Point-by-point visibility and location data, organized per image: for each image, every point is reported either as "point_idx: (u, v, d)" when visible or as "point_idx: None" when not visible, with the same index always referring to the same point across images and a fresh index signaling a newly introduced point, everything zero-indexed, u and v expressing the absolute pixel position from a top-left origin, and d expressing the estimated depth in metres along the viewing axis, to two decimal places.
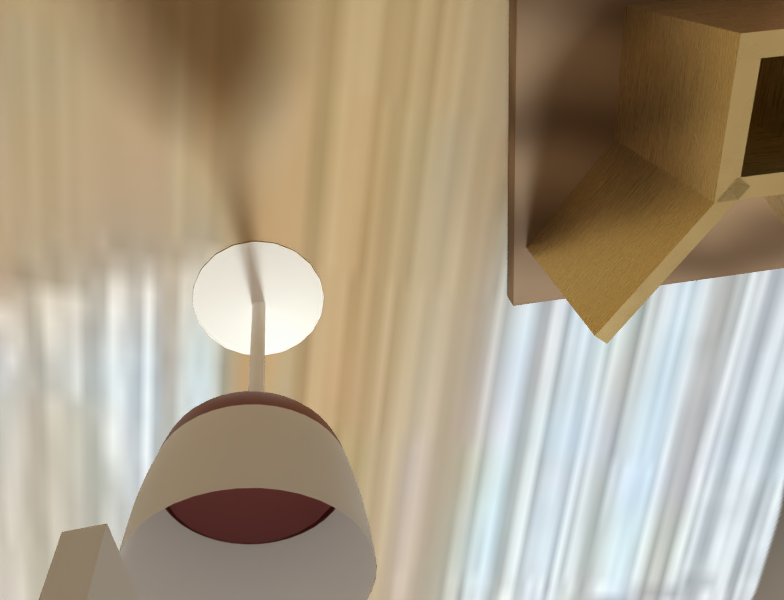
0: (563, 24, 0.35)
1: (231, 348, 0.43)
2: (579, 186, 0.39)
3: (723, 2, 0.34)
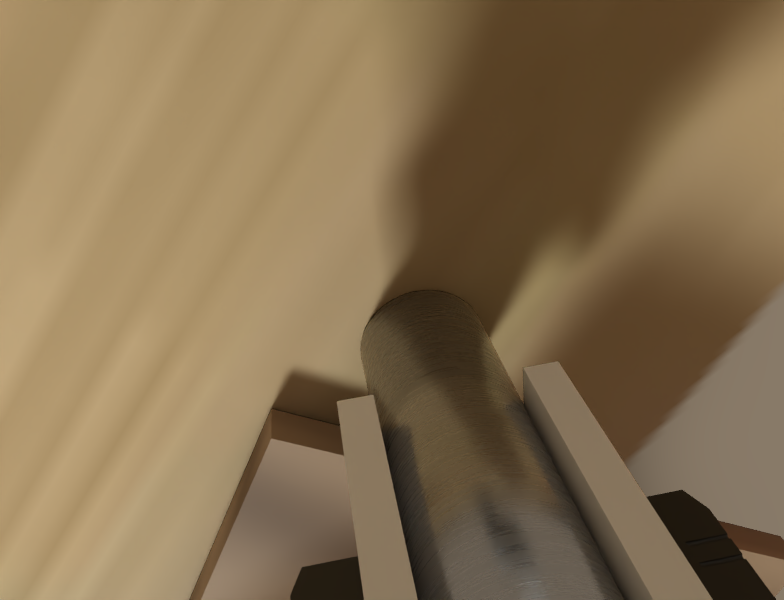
0: None
1: None
2: None
3: None
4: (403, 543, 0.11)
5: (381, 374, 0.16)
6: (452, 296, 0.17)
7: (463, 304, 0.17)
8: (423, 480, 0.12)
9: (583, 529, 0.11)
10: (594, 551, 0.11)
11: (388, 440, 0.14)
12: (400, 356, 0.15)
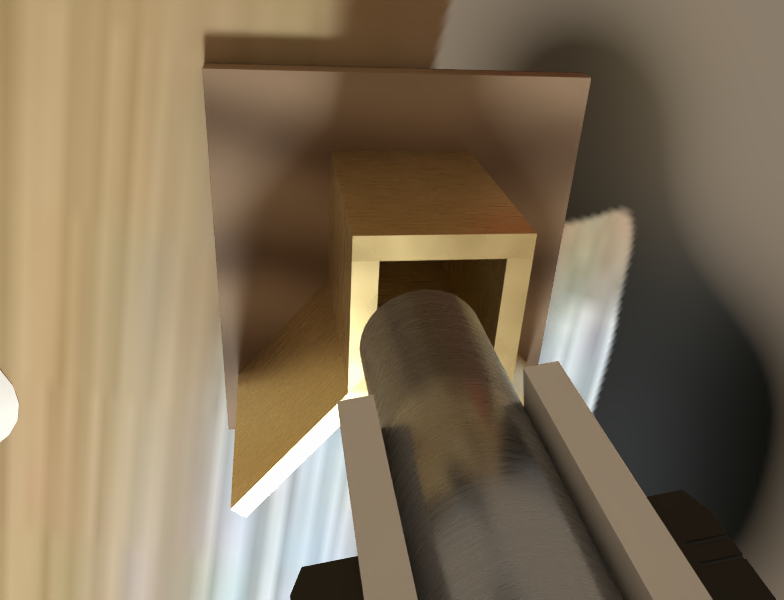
0: (262, 162, 0.33)
1: None
2: (291, 321, 0.37)
3: (420, 164, 0.32)
4: (403, 543, 0.11)
5: (380, 372, 0.16)
6: (451, 295, 0.17)
7: (462, 303, 0.17)
8: (422, 478, 0.12)
9: (580, 526, 0.11)
10: (591, 548, 0.11)
11: (387, 438, 0.14)
12: (399, 354, 0.15)
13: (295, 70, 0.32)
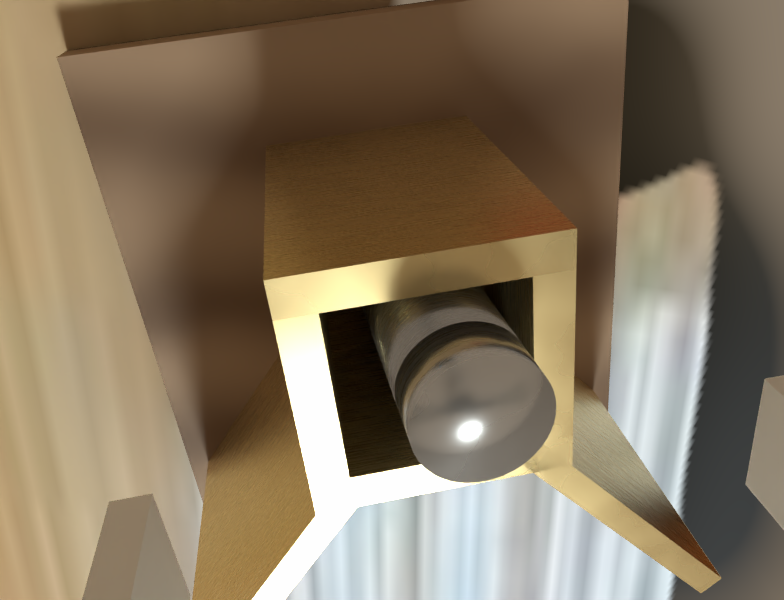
0: (173, 177, 0.23)
1: None
2: (261, 385, 0.27)
3: (393, 145, 0.22)
4: None
5: None
6: None
7: None
8: None
9: None
10: (480, 287, 0.18)
11: None
12: None
13: (191, 38, 0.22)
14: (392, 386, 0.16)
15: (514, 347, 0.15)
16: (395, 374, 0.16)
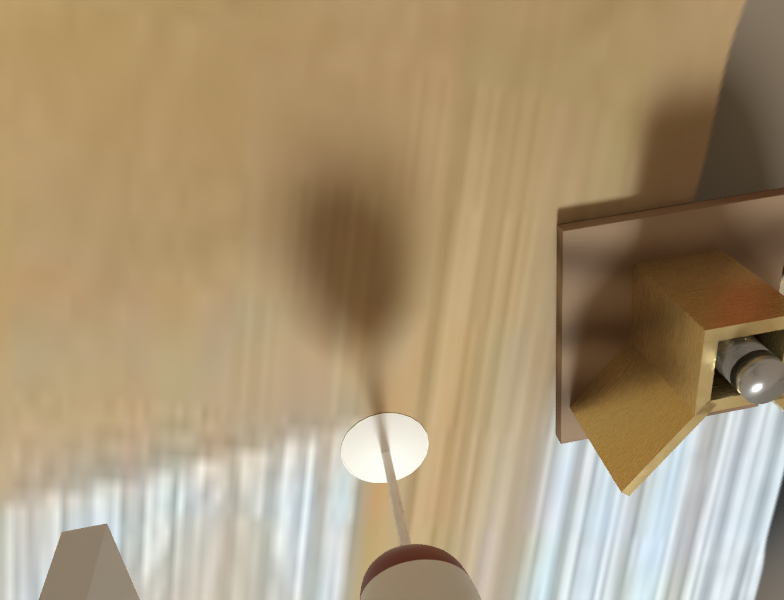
0: (593, 277, 0.53)
1: (364, 479, 0.61)
2: (606, 369, 0.57)
3: (699, 266, 0.52)
4: None
5: None
6: None
7: None
8: None
9: None
10: None
11: None
12: None
13: (615, 222, 0.52)
14: (728, 370, 0.46)
15: (778, 359, 0.45)
16: (731, 366, 0.46)
